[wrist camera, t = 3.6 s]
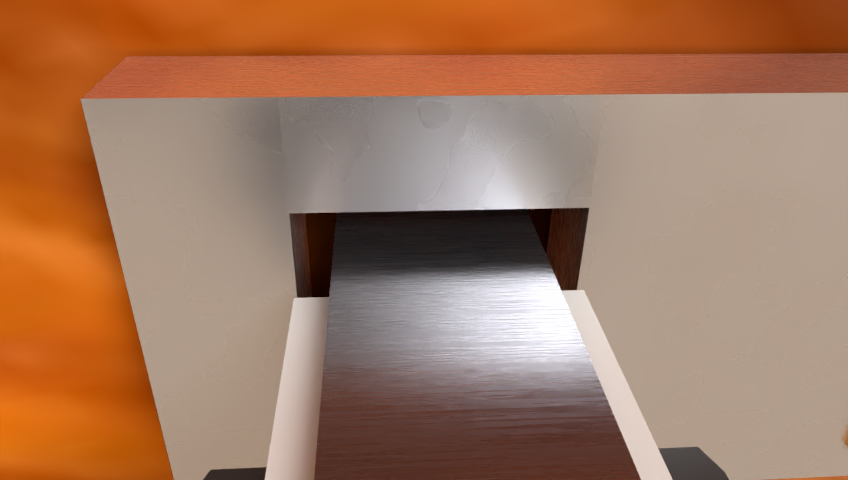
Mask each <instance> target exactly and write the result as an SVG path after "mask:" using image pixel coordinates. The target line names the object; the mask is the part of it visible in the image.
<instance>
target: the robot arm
mask: <svg viewBox="0 0 848 480" xmlns="http://www.w3.org/2000/svg"><path fill="white" fill-rule="evenodd" d="M562 293H563V296H564V298H565V300H566V303H567V305H568V308H569V310H570V312H571V315H572V317H573V319H574V322H575V324H576V326H577V329H578V331H579V334H580V336H581V338H582V341H583V343H584V345H585V348H586V350H587V353H588V355H589V357H590V360H591V362H592V364H593V367H594V369H595V372H596V374H597V376H598V379H599V381H600V383H601V386H602V388H603V390H604V393H605V395H606V398H607V400H608V402H609V405H610V407H611V409H612V412H613V414H614V417H615V419H616V421H617V424H618V426H619V428H620V431H621V433H622V435H623V438H624V440H625V443H626V445H627V447H628V450H629V452H630V454H631V457H632V459H633V462H634V464H635V466H636V469H637V471H638V473H639V476H640V478H641V480H729V479H728V477H727V475H726V473H725V472H724V471H723V470H722V469H721V468H720V467H719V466H718V465H717V464H716V463H715V462H714V461H713V460H712V459H710V458H709V457H708V456H707V455H706V454H705V453H704V452H703V451H702V450H701V449H700V448H699V447H678V448H658V447H657V445H656V443H655V441H654V439H653V437H652V434H651V432H650V430H649V428H648V426H647V424H646V422H645V420H644V417H643V415H642V413H641V411H640V409H639V407H638V405H637V402H636V400H635V398H634V396H633V394H632V392H631V390H630V388H629V385H628V383H627V381H626V379H625V377H624V375H623V373H622V370H621V368H620V366H619V364H618V362H617V360H616V358H615V355H614V353H613V351H612V349H611V347H610V345H609V343H608V341H607V338H606V336H605V334H604V332H603V330H602V328H601V326H600V323H599V321H598V319H597V317H596V315H595V313H594V311H593V309H592V306H591V304H590V302H589V300H588V298H587V296H586V294H585V291H584V290H565V291H562ZM328 306H329V297H310V298H294V300H293V307H292V313H291V319H290V325H289V331H288V338H287V344H286V350H285V356H284V363H283V369H282V375H281V381H280V387H279V394H278V400H277V406H276V412H275V418H274V425H273V431H272V437H271V443H270V450H269V456H268V462H267V467H258V468H235V469H213V470H210V471H209V472H208V474H207V475H206V476H205V478H204V479H203V480H314V474H315V462H316V450H317V438H318V426H319V414H320V402H321V390H322V378H323V366H324V354H325V342H326V330H327V318H328Z"/></svg>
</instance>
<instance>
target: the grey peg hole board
mask: <svg viewBox="0 0 848 480" xmlns="http://www.w3.org/2000/svg"><path fill="white" fill-rule="evenodd" d="M81 102H82V107H83V111H84V115H85V119H86V123H87V127H88V131H89V135H90V139H91V143H92V147H93V151H94V155H95V160H96V164H97V168H98V172H99V176H100V180H101V184H102V188H103V192H104V196H105V200H106V204H107V208H108V213H109V217H110V221H111V225H112V229H113V233H114V237H115V241H116V245H117V249H118V253H119V257H120V262H121V266H122V270H123V274H124V278H125V282H126V286H127V290H128V294H129V298H130V302H131V306H132V310H133V315H134V319H135V323H136V327H137V331H138V335H139V339H140V343H141V347H142V351H143V355H144V359H145V363H146V368H147V372H148V376H149V380H150V384H151V388H152V392H153V396H154V400H155V404H156V408H157V412H158V417H159V421H160V425H161V429H162V433H163V437H164V441H165V445H166V449H167V453H168V457H169V461H170V465H171V470H172V474H173V478H174V480H203V479H204V478H205V476H206V475H207V474H208V472H209V471H210V470H213V469H235V468H258V467H267V462H268V456H269V450H270V443H271V437H272V431H273V425H274V418H275V412H276V406H277V400H278V394H279V387H280V381H281V375H282V369H283V363H284V356H285V350H286V344H287V338H288V331H289V325H290V319H291V313H292V307H293V300H294V298H310V297H312V288H311V276H310V264H309V252H308V239H307V227H306V215H305V213H335V212H388V211H440V210H493V209H546V208H552V211H551V219H550V228H549V236H548V244H547V252H546V255H547V258H548V260H549V262H550V265H551V267H552V270H553V272H554V274H555V277H556V279H557V281H558V284H559V286H560V289H561V291H565V290H584V291H585V294H586V296H587V298H588V300H589V302H590V304H591V306H592V309H593V311H594V313H595V315H596V317H597V319H598V321H599V323H600V326H601V328H602V330H603V332H604V334H605V336H606V338H607V341H608V343H609V345H610V347H611V349H612V351H613V353H614V355H615V358H616V360H617V362H618V364H619V366H620V368H621V370H622V373H623V375H624V377H625V379H626V381H627V383H628V385H629V388H630V390H631V392H632V394H633V396H634V398H635V400H636V402H637V405H638V407H639V409H640V411H641V413H642V415H643V417H644V420H645V422H646V424H647V426H648V428H649V430H650V432H651V434H652V437H653V439H654V441H655V443H656V445H657V447H658V448H678V447H699V448H700V449H701V450H702V451H703V452H704V453H705V454H706V455H707V456H708V457H709V458H710V459H712V460H713V461H714V462H715V463H716V464H717V465H718V466H719V467H720V468H721V469H722V470H723V471H724V472H725V473H726V475H727V477H728V479H729V480H762V479H784V478H806V477H828V476H848V53H830V54H596V55H362V56H128V57H126V58H125V59H123V60H122V61H121V62H120V63H119V64H118V65H117V66H116V67H115V68H114V69H113V70H111V71H110V72H109V73H108V74H107V75H106V76H105V77H104V78H103V79H102V80H101V81H99V82H98V83H97V84H96V85H95V86H94V87H93V88H92V89H91V90H90V91H89V92H87V93H86V94H85V95H84V96H83V97H82V98H81Z"/></svg>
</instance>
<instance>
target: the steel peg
mask: <svg viewBox="0 0 848 480" xmlns="http://www.w3.org/2000/svg"><path fill="white" fill-rule="evenodd" d="M314 480H641V478H640V476H639V473H638V471H637V469H636V466H635V464H634V462H633V459H632V457H631V454H630V452H629V450H628V447H627V445H626V443H625V440H624V438H623V435H622V433H621V431H620V428H619V426H618V424H617V421H616V419H615V417H614V414H613V412H612V409H611V407H610V405H609V402H608V400H607V398H606V395H605V393H604V390H603V388H602V386H601V383H600V381H599V379H598V376H597V374H596V372H595V369H594V367H593V364H592V362H591V360H590V357H589V355H588V353H587V350H586V348H585V345H584V343H583V341H582V338H581V336H580V334H579V331H578V329H577V326H576V324H575V322H574V319H573V317H572V315H571V312H570V310H569V308H568V305H567V303H566V300H565V298H564V296H563V293H562V291H561V289H560V286H559V284H558V281H557V279H556V277H555V274H554V272H553V270H552V267H551V265H550V262H549V260H548V258H547V255H546V253H545V251H544V248H543V246H542V244H541V241H540V239H539V236H538V234H537V232H536V229H535V227H534V225H533V222H532V220H531V217H530V215H529V213H528V210H527V209H493V210H440V211H388V212H336V222H335V234H334V246H333V258H332V270H331V282H330V294H329V306H328V318H327V330H326V342H325V354H324V366H323V378H322V390H321V402H320V414H319V426H318V438H317V450H316V462H315V474H314Z"/></svg>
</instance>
